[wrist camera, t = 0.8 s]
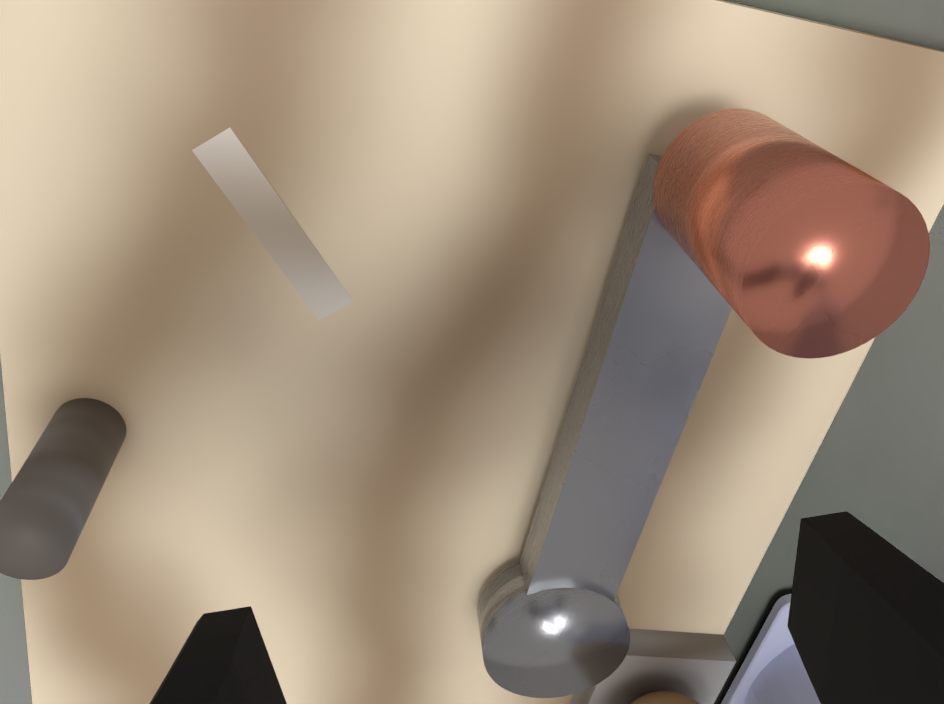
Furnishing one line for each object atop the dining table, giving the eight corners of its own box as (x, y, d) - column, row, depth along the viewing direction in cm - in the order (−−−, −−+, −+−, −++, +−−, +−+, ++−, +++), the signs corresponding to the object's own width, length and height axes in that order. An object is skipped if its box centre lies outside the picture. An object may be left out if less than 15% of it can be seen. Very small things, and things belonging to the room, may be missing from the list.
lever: (594, 657, 24) (648, 850, 19) (464, 650, 23) (487, 849, 18) (815, 113, 16) (1000, 207, 11) (631, 76, 15) (746, 159, 11)
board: (975, 57, 17) (1191, 117, 13) (660, 705, 28) (716, 868, 23) (-17, -169, 14) (-219, -201, 9) (48, 677, 24) (-31, 864, 19)
